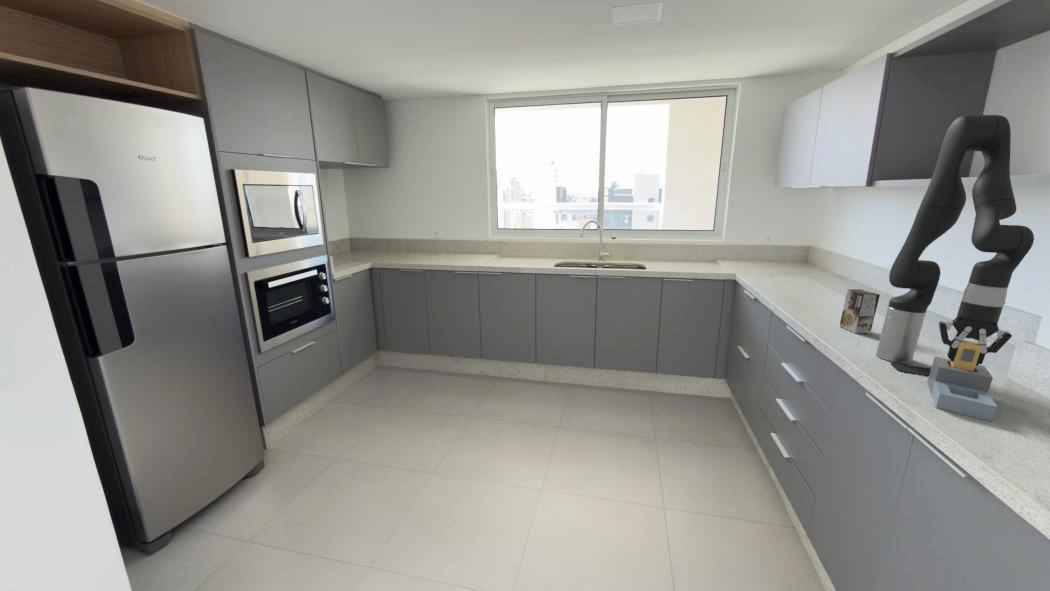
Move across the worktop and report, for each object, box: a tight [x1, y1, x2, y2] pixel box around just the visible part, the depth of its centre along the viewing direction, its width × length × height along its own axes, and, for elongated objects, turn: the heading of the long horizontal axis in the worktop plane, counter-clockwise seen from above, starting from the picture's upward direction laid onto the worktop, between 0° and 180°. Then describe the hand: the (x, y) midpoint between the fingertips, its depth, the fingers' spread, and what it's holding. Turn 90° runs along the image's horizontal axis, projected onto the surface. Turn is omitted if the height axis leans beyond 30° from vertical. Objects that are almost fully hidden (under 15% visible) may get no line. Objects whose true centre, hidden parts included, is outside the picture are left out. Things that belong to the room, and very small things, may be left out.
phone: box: [890, 362, 931, 377], centre depth 129 cm, size 7×1×15 cm
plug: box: [950, 339, 982, 372], centre depth 113 cm, size 5×4×10 cm
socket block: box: [927, 356, 998, 422], centre depth 111 cm, size 20×10×8 cm, turn 141°
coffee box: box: [839, 288, 881, 334], centre depth 166 cm, size 9×6×16 cm
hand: (963, 362), depth 114 cm, fingers closed on plug, 4 cm apart
